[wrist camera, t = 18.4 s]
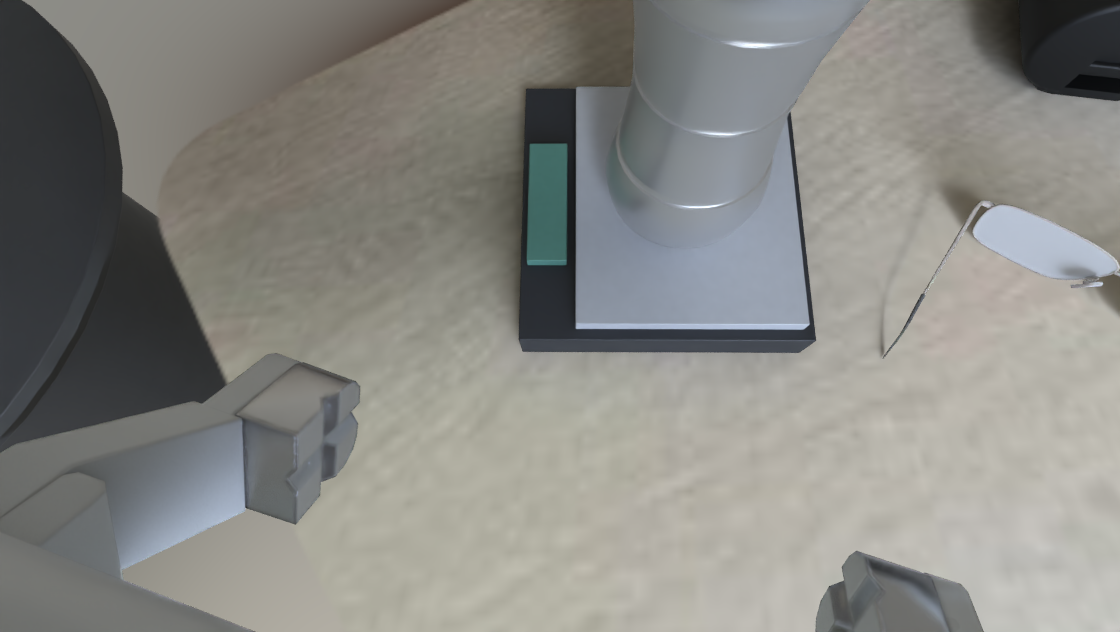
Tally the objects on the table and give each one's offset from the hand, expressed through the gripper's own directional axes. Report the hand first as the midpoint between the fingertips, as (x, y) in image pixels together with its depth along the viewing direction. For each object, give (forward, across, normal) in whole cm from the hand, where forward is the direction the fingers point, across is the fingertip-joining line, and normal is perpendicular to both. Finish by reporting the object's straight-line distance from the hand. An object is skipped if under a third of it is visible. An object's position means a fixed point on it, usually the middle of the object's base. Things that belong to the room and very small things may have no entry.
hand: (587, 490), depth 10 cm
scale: (+23, 0, +3) cm, 23 cm away
